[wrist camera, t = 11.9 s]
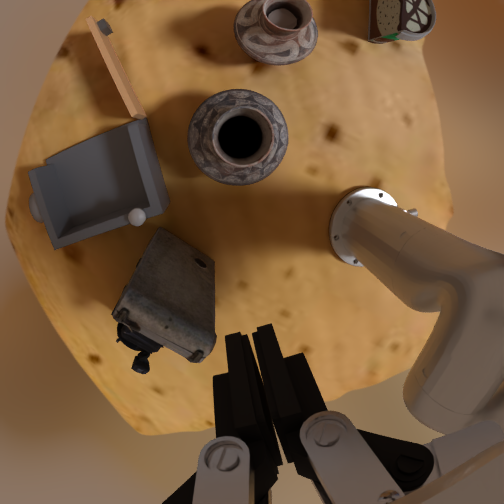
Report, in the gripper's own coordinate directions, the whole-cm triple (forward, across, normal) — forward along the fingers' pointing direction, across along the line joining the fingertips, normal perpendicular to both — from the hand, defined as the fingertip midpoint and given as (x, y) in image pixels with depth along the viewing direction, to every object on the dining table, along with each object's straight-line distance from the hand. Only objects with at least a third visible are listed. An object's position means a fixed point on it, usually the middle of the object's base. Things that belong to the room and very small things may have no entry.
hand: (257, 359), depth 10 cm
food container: (+32, -31, -22) cm, 50 cm away
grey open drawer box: (+32, +16, -7) cm, 37 cm away
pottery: (+32, -7, -13) cm, 36 cm away
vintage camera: (+32, +12, +10) cm, 36 cm away
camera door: (+31, +8, -21) cm, 38 cm away
